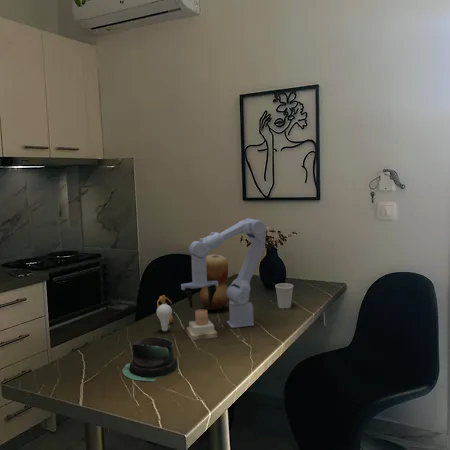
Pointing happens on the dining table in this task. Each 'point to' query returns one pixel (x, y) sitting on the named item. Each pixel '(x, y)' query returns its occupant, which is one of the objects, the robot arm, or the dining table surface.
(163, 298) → the figurine
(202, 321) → the terracotta cylinder
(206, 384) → the dining table surface
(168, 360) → the black hat
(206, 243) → the robot arm
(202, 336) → the birch slab
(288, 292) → the dixie cup
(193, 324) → the cream slab
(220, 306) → the butternut squash
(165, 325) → the lightbulb
